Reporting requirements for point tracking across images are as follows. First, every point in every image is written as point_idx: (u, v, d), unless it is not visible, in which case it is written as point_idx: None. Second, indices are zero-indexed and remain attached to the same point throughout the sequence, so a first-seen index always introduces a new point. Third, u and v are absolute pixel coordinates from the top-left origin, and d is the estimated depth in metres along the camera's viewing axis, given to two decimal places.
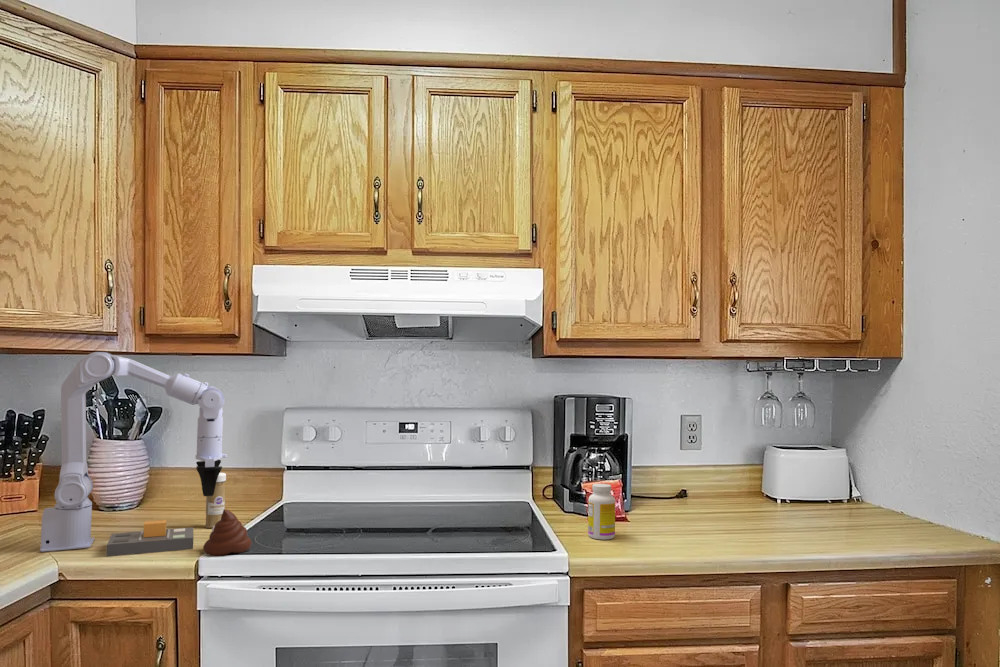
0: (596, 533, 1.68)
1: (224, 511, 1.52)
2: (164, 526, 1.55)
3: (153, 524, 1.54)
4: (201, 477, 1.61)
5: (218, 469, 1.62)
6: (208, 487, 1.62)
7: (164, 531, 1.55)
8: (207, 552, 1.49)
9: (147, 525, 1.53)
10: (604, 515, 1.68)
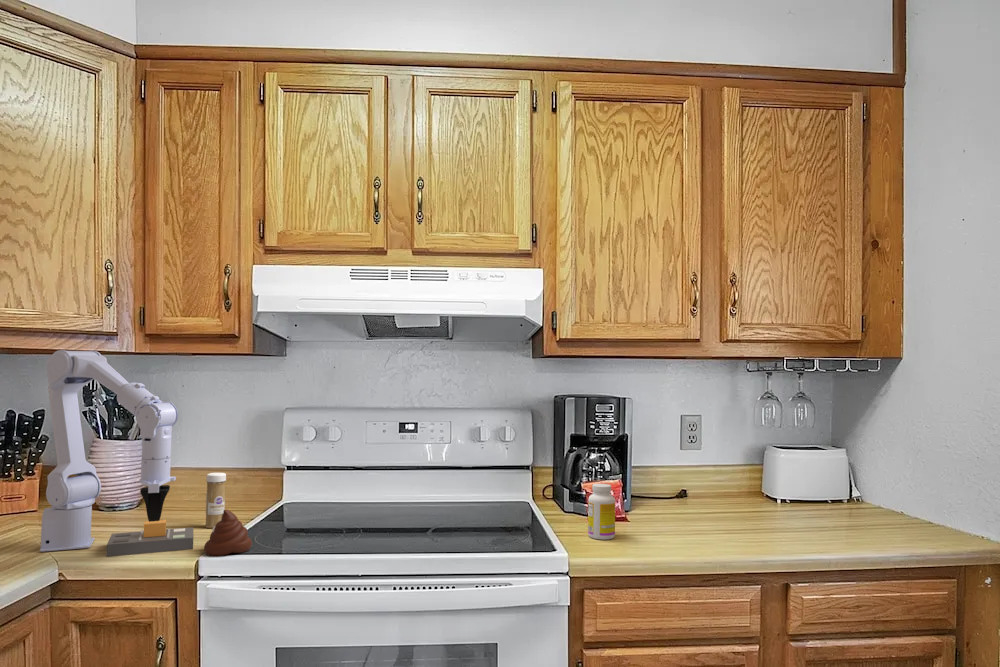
0: (596, 533, 1.68)
1: (224, 511, 1.52)
2: (164, 526, 1.55)
3: (153, 524, 1.54)
4: (145, 501, 1.47)
5: (164, 492, 1.48)
6: (154, 511, 1.48)
7: (164, 531, 1.55)
8: (208, 552, 1.49)
9: (147, 525, 1.53)
10: (604, 515, 1.68)
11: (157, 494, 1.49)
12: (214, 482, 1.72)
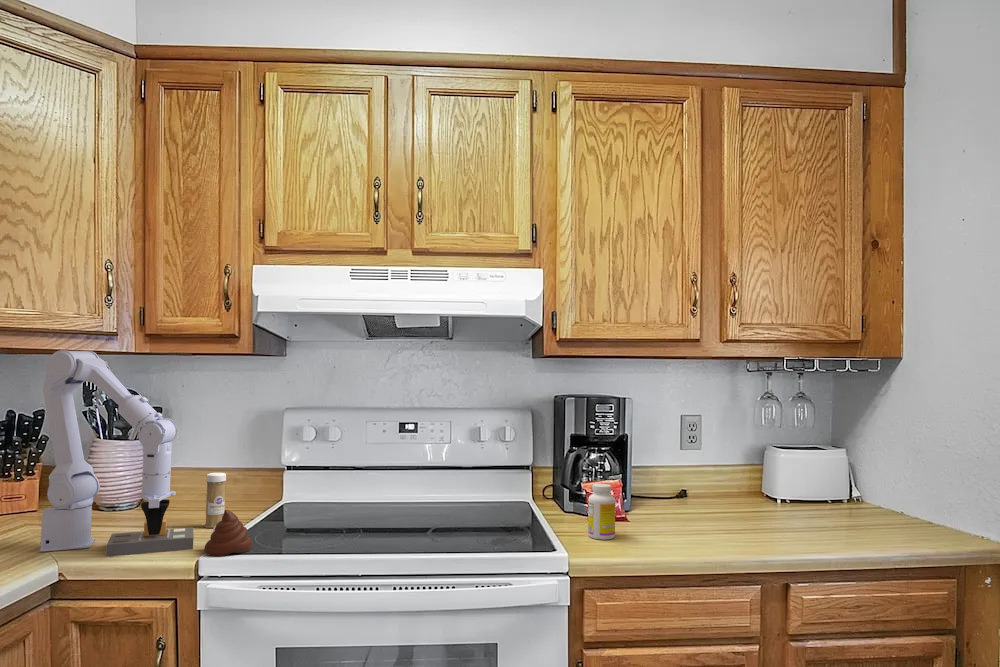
0: (596, 533, 1.68)
1: (225, 511, 1.52)
2: (165, 525, 1.56)
3: None
4: (146, 515, 1.52)
5: (164, 506, 1.52)
6: (154, 525, 1.53)
7: (164, 530, 1.56)
8: (208, 552, 1.49)
9: None
10: (604, 515, 1.68)
11: (157, 508, 1.53)
12: (214, 482, 1.72)
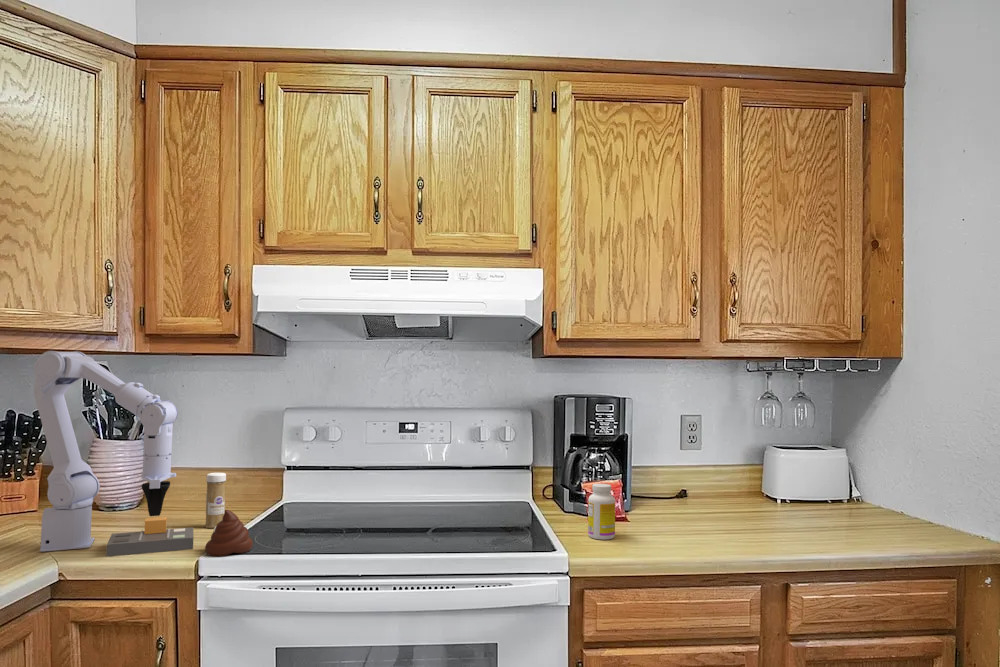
0: (596, 533, 1.68)
1: (226, 511, 1.52)
2: (165, 523, 1.58)
3: (154, 521, 1.57)
4: (147, 496, 1.52)
5: (165, 487, 1.53)
6: (154, 506, 1.53)
7: (165, 528, 1.57)
8: (209, 552, 1.49)
9: (148, 522, 1.56)
10: (604, 515, 1.68)
11: (158, 490, 1.54)
12: (214, 482, 1.72)
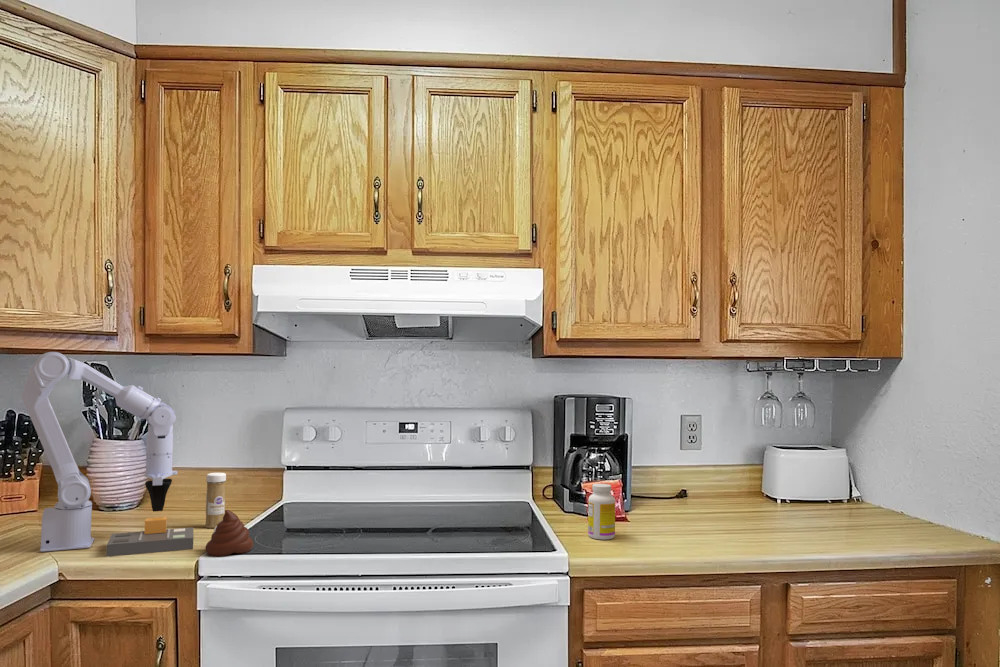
0: (596, 533, 1.68)
1: (226, 511, 1.52)
2: (165, 523, 1.58)
3: (154, 521, 1.57)
4: (150, 492, 1.62)
5: (167, 484, 1.63)
6: (157, 502, 1.63)
7: (165, 528, 1.57)
8: (209, 553, 1.49)
9: (148, 522, 1.56)
10: (604, 515, 1.68)
11: (160, 486, 1.64)
12: (214, 482, 1.72)
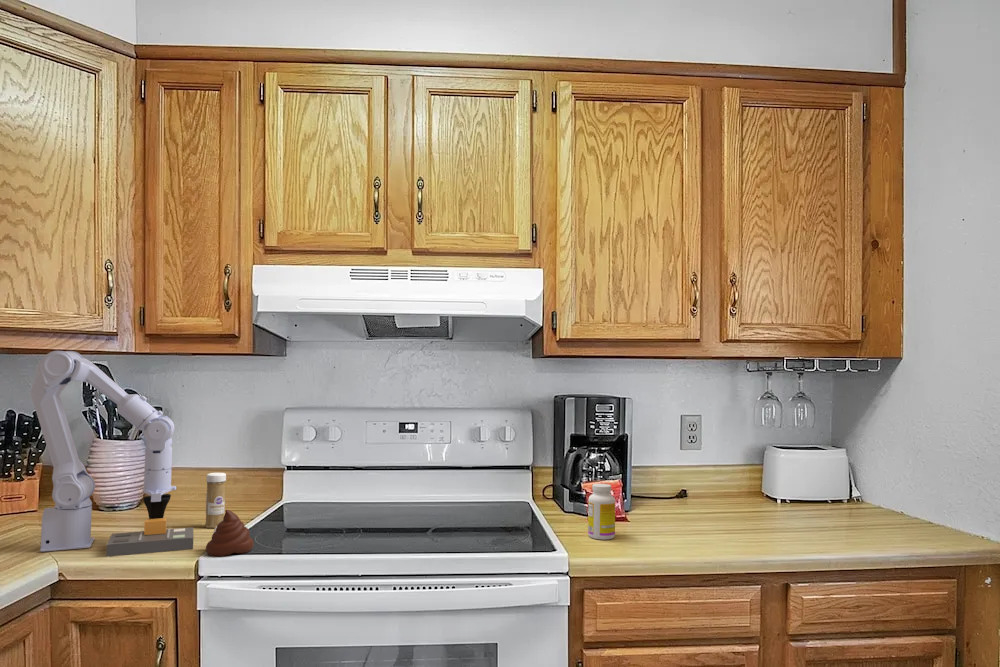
0: (596, 533, 1.68)
1: (226, 511, 1.52)
2: (165, 524, 1.57)
3: (154, 522, 1.56)
4: (148, 509, 1.58)
5: (166, 500, 1.59)
6: None
7: (164, 529, 1.57)
8: (209, 553, 1.49)
9: (148, 523, 1.55)
10: (604, 515, 1.68)
11: (159, 502, 1.59)
12: (214, 482, 1.72)
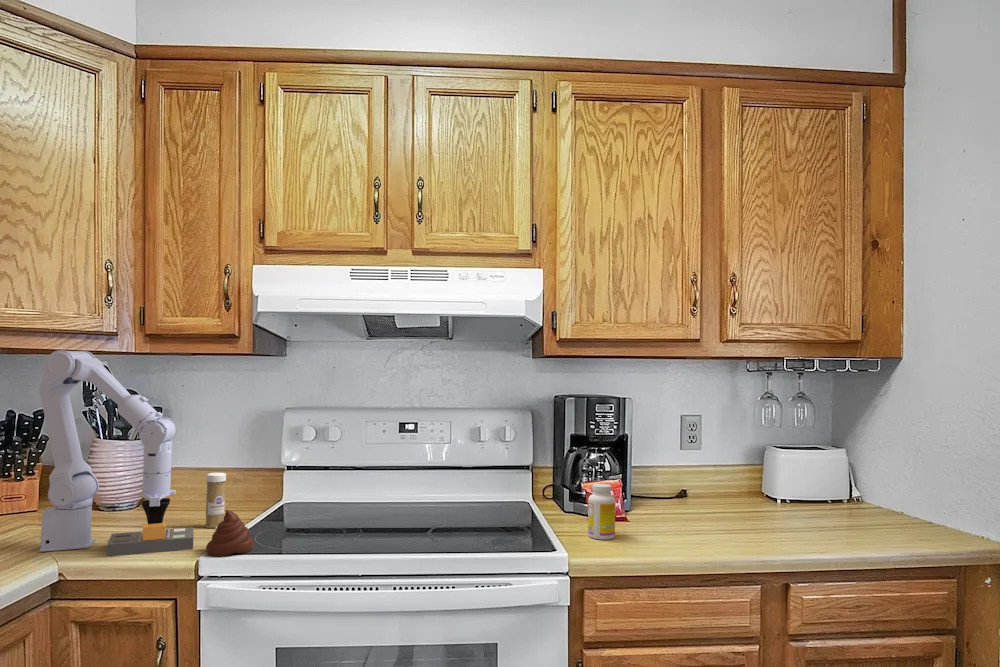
0: (596, 533, 1.68)
1: (227, 512, 1.52)
2: (164, 529, 1.52)
3: (152, 527, 1.51)
4: (147, 513, 1.53)
5: (165, 505, 1.54)
6: None
7: (163, 534, 1.52)
8: (210, 553, 1.49)
9: (146, 528, 1.51)
10: (604, 515, 1.68)
11: (158, 507, 1.55)
12: (214, 482, 1.72)
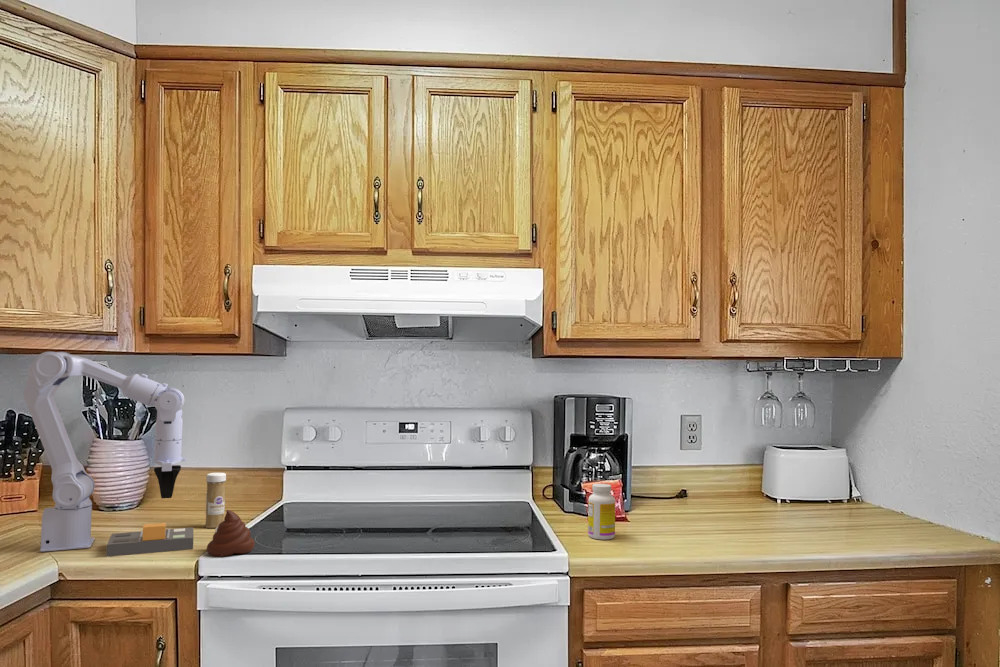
0: (596, 533, 1.68)
1: (227, 512, 1.52)
2: (164, 529, 1.52)
3: (152, 527, 1.51)
4: (159, 479, 1.59)
5: (176, 471, 1.60)
6: (166, 489, 1.60)
7: (163, 534, 1.52)
8: (210, 553, 1.48)
9: (146, 528, 1.51)
10: (604, 515, 1.68)
11: (169, 473, 1.61)
12: (214, 482, 1.72)
